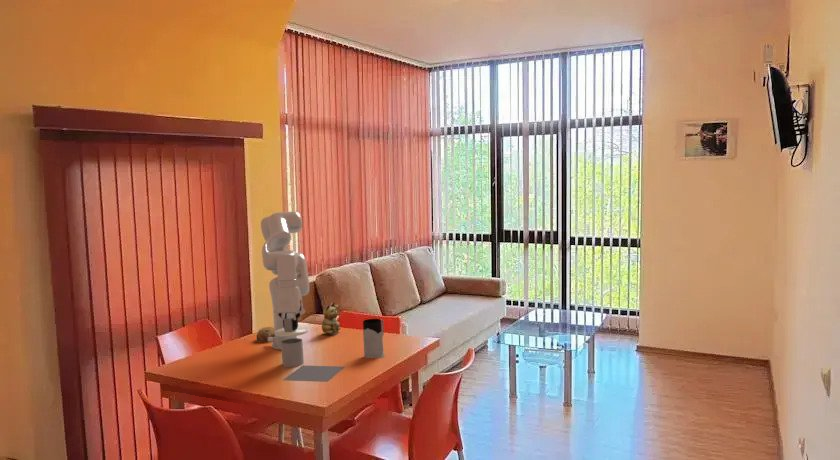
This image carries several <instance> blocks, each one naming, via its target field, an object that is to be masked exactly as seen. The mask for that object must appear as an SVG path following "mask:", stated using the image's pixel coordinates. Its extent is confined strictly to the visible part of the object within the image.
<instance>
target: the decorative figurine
mask: <svg viewBox="0 0 840 460" xmlns="http://www.w3.org/2000/svg"><path fill="white" fill-rule="evenodd" d="M339 307H340V306H339V304H335V302H331V303H330V304H327V305H326V306H325V307H324V309H323V311H322V315H323V318H324V319H323V320H322V322H321V330H322V333H325V335H327V336H328V335H330V336H335V335H337V334H339V333H340V332H339V331H340V330H341V327H340V326H341V323H340V322H339V321H337V320H336V319H337V318H338V310H337V309H339Z"/></svg>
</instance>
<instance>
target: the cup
mask: <svg viewBox="0 0 840 460" xmlns="http://www.w3.org/2000/svg"><path fill="white" fill-rule="evenodd" d="M281 349H282V350H281V359H282V361H281V362H282V366H283V367H285V368H286V367H287V368H294V367H299V366H300V367H301V366H303V364H305V361H304V360H305V359H304V348H303V339H302V338H291V339H286V340H283V341H281Z"/></svg>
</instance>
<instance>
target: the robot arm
mask: <svg viewBox="0 0 840 460" xmlns="http://www.w3.org/2000/svg"><path fill="white" fill-rule="evenodd" d="M302 228H303V219H302V216H301V213H299V212H298V211H280V212H274V213H272V214H271V215H270V216H267V217H266V216H265V217H263V218H261V221H260V229H261V233H262V237H263V238H264V241H265V242H264V243H263V244H262V248H261V259H262V264H263V267H264V269H265V270H267V271H271V273H272V274H273V275H275V276H276V277H274V278H272V279H270V281H269V284H268V286H269V294H270V297H271V302H272V303H271V304H272V315H273V329H274V331H276V330H278V329H282V328H284V319H286V318H288V317H293V320H292V326H293V330H296V329H297V327H299V321H298V319H299V318H300V317H301V316H302V315H304V314H305V313H306V309H305V308H304V307H303V306H304V305H303V298H302V297H303V296H307V295H309V293H310V280H309V271H308V266H307V260H306V257H305V255H304V254H303V253H301V252H296V250H293V249H292V250H290V249H288V245H289V243H290V242H291V240H292V235H291V234H296V233H299V232H300V231H301V230H302ZM284 330H285V328H284ZM297 337H298V336H292V337H278V336H275V337H268V342H267V343H272V345H271V348H272V349H274V350H278V351H279V350H280V351H282V349H281V341H283V340H286V339H291V338H297Z"/></svg>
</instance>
